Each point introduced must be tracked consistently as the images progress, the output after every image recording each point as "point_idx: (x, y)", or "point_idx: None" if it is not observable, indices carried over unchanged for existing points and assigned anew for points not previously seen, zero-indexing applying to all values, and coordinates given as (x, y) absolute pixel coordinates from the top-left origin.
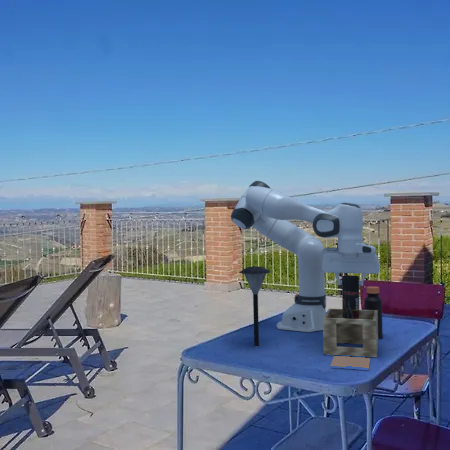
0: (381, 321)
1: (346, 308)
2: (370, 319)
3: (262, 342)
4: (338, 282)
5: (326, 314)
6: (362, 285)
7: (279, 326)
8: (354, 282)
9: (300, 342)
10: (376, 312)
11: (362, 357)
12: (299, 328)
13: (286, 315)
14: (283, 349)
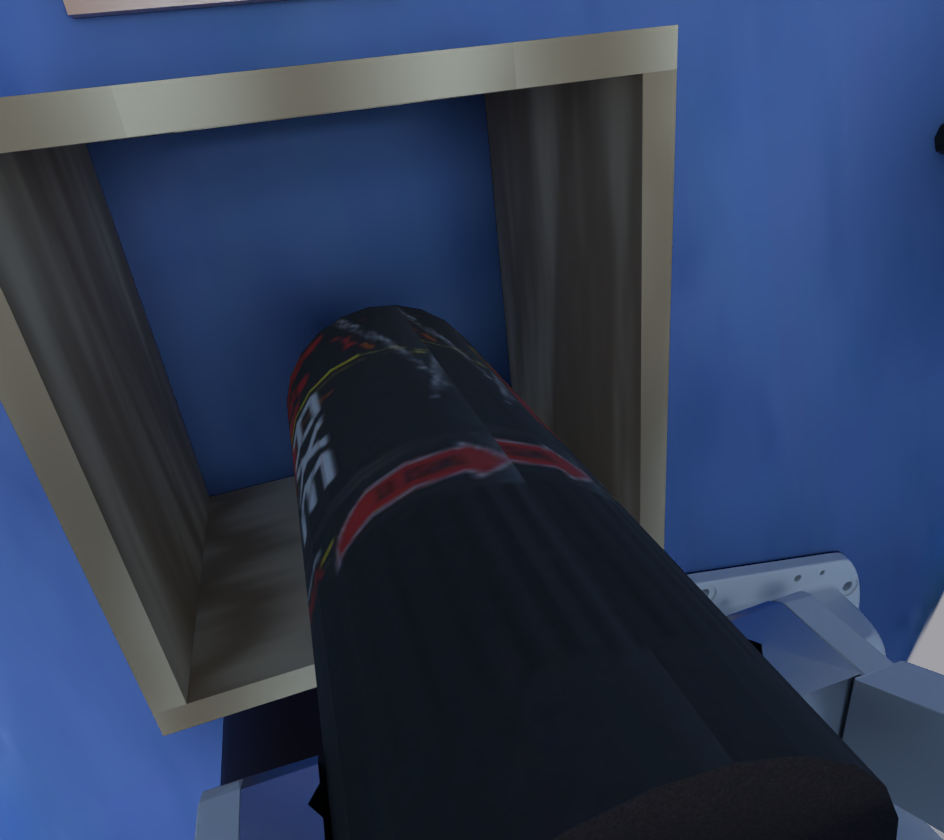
0: (222, 773)
1: (451, 348)
2: (239, 617)
3: (914, 243)
4: (841, 630)
5: (659, 289)
6: (215, 793)
7: (847, 570)
8: (428, 704)
9: (704, 343)
10: (128, 639)
11: (146, 8)
12: (745, 582)
13: (865, 633)
14: (789, 118)
